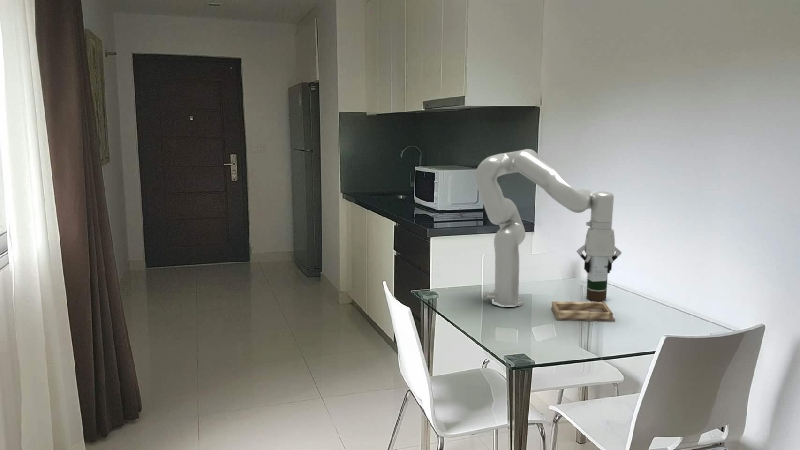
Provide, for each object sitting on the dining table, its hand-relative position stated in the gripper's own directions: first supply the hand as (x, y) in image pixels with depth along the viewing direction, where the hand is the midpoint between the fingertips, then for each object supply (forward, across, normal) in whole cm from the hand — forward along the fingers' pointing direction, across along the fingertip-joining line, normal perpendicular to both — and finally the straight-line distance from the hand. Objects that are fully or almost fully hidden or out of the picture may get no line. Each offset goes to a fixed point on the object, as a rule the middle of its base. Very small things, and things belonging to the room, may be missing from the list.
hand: (597, 271), depth 221 cm
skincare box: (+3, 0, 0) cm, 3 cm away
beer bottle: (+17, +5, +19) cm, 26 cm away
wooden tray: (+17, -5, 0) cm, 18 cm away
